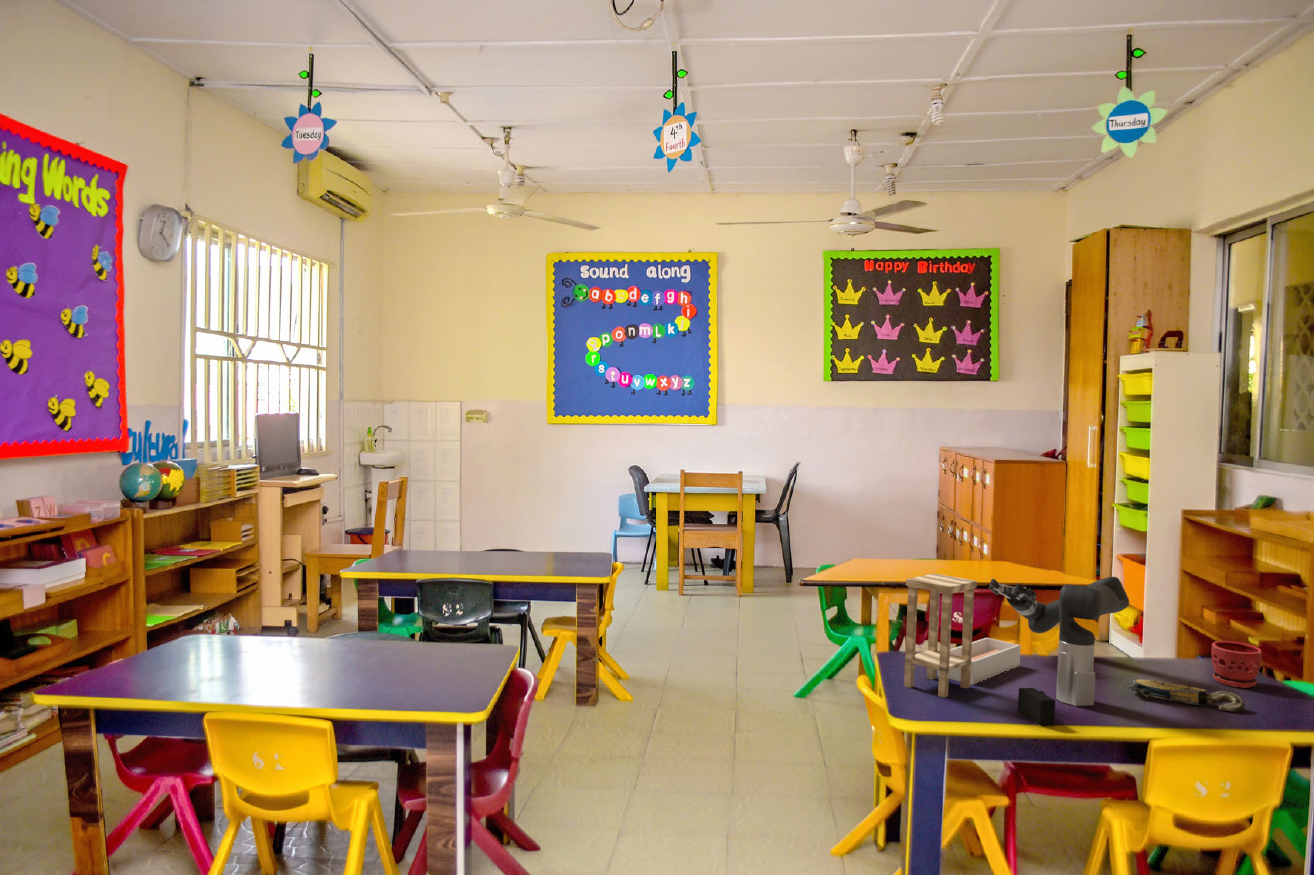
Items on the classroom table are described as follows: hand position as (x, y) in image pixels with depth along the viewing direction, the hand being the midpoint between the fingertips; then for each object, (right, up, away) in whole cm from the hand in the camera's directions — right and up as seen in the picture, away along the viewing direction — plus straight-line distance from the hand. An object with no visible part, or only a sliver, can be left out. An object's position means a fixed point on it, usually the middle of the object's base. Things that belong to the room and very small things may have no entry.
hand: (1004, 583), depth 290 cm
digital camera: (-13, -28, -54) cm, 62 cm away
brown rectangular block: (-11, -25, -10) cm, 29 cm away
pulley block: (+38, -29, -35) cm, 59 cm away
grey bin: (-12, -26, -11) cm, 31 cm away
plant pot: (+66, -29, -15) cm, 73 cm away
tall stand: (-32, -26, -29) cm, 50 cm away
